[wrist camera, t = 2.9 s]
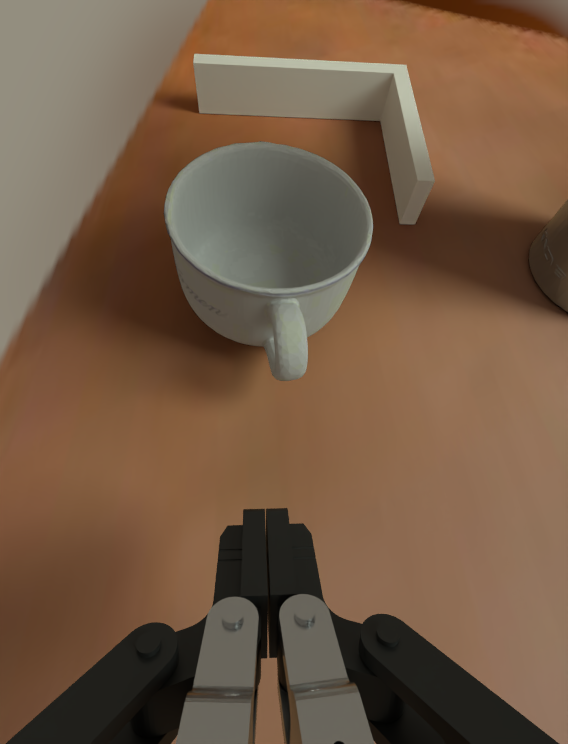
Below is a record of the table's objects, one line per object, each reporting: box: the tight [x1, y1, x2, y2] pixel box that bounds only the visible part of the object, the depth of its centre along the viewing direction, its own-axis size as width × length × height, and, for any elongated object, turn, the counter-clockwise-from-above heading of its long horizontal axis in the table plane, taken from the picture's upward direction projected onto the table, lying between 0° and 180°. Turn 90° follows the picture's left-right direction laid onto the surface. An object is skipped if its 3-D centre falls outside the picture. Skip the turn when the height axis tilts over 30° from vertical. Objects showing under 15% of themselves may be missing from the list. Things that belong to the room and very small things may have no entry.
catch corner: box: [193, 54, 435, 224], centre depth 33 cm, size 17×13×4 cm
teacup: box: [164, 141, 373, 381], centre depth 25 cm, size 14×11×8 cm
